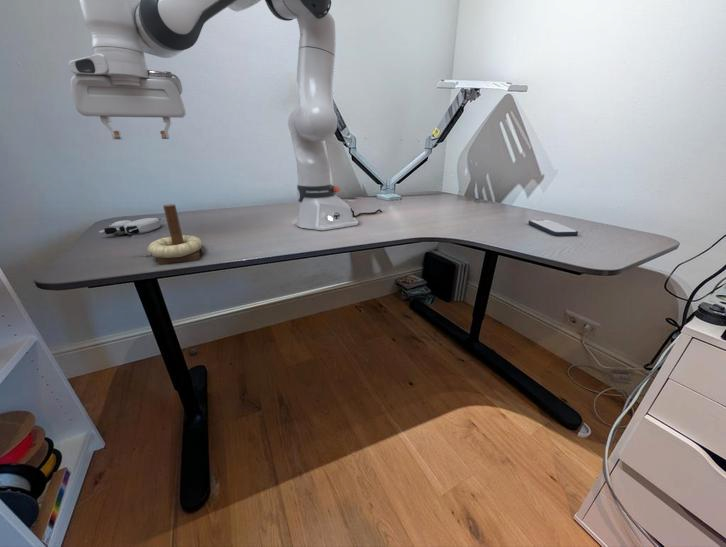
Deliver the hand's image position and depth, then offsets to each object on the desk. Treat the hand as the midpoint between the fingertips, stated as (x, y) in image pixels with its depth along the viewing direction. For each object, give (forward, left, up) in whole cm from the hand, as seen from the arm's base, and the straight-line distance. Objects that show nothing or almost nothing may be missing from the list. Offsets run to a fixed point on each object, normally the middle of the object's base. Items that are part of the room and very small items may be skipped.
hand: (142, 139), depth 72 cm
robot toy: (+14, -27, -29) cm, 42 cm away
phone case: (-119, +19, -29) cm, 124 cm away
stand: (-2, +2, -29) cm, 29 cm away
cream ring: (-2, +2, -26) cm, 26 cm away
